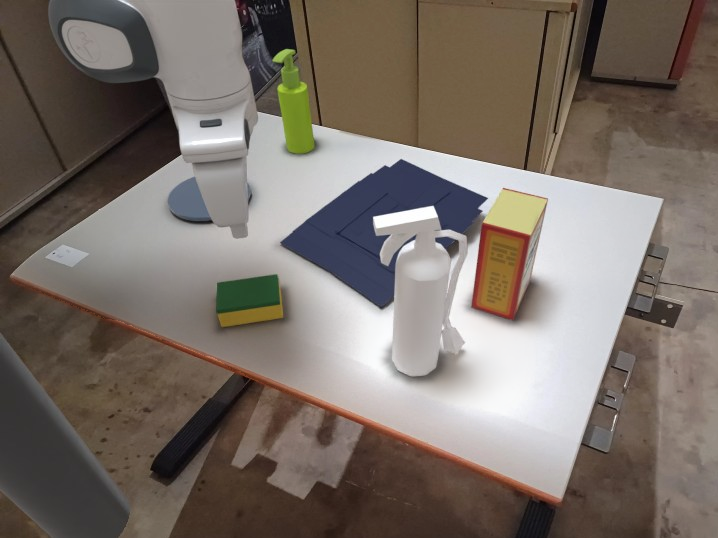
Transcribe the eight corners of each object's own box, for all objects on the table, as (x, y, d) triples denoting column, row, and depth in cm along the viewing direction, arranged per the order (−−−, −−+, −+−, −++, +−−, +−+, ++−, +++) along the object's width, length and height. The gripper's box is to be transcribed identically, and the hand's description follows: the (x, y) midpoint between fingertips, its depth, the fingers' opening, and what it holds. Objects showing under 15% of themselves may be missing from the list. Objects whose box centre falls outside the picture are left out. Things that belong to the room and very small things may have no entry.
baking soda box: (490, 269, 90) (503, 185, 78) (530, 281, 88) (548, 196, 77) (471, 307, 84) (481, 221, 72) (512, 320, 82) (530, 234, 70)
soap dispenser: (279, 153, 116) (262, 56, 102) (295, 138, 121) (281, 43, 107) (303, 158, 115) (289, 60, 101) (319, 143, 119) (308, 47, 105)
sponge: (221, 327, 81) (215, 310, 78) (222, 299, 85) (216, 282, 83) (283, 318, 82) (279, 300, 80) (281, 290, 86) (277, 273, 84)
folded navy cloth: (496, 214, 98) (497, 198, 96) (384, 319, 85) (382, 304, 82) (395, 167, 110) (393, 151, 107) (282, 253, 96) (277, 238, 94)
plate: (166, 228, 98) (164, 222, 97) (173, 183, 108) (170, 177, 107) (252, 218, 100) (250, 211, 99) (250, 174, 111) (249, 168, 110)
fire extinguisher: (471, 372, 75) (492, 223, 57) (383, 384, 73) (377, 235, 56) (459, 335, 80) (475, 187, 62) (376, 345, 78) (369, 197, 61)
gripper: (190, 73, 67) (217, 172, 77) (178, 157, 53) (213, 266, 63) (243, 68, 68) (262, 167, 78) (245, 150, 54) (269, 258, 64)
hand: (240, 212), depth 70 cm, fingers open, 8 cm apart
